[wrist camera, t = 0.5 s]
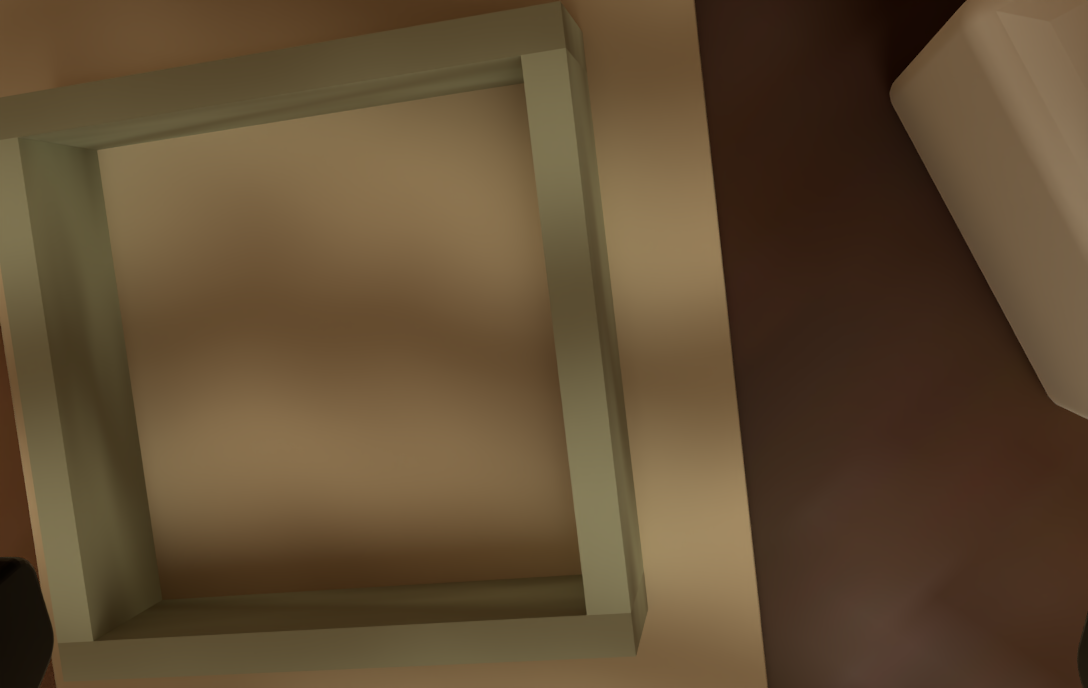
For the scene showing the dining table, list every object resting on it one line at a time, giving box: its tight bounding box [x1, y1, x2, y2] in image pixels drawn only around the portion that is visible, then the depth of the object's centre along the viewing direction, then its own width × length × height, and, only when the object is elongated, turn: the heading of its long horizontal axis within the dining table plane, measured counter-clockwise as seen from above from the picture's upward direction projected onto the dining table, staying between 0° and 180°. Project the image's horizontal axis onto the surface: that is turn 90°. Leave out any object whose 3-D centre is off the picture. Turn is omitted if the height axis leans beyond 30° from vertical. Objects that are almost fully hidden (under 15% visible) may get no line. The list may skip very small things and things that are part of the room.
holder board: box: [0, 0, 768, 688], centre depth 21 cm, size 20×16×4 cm
